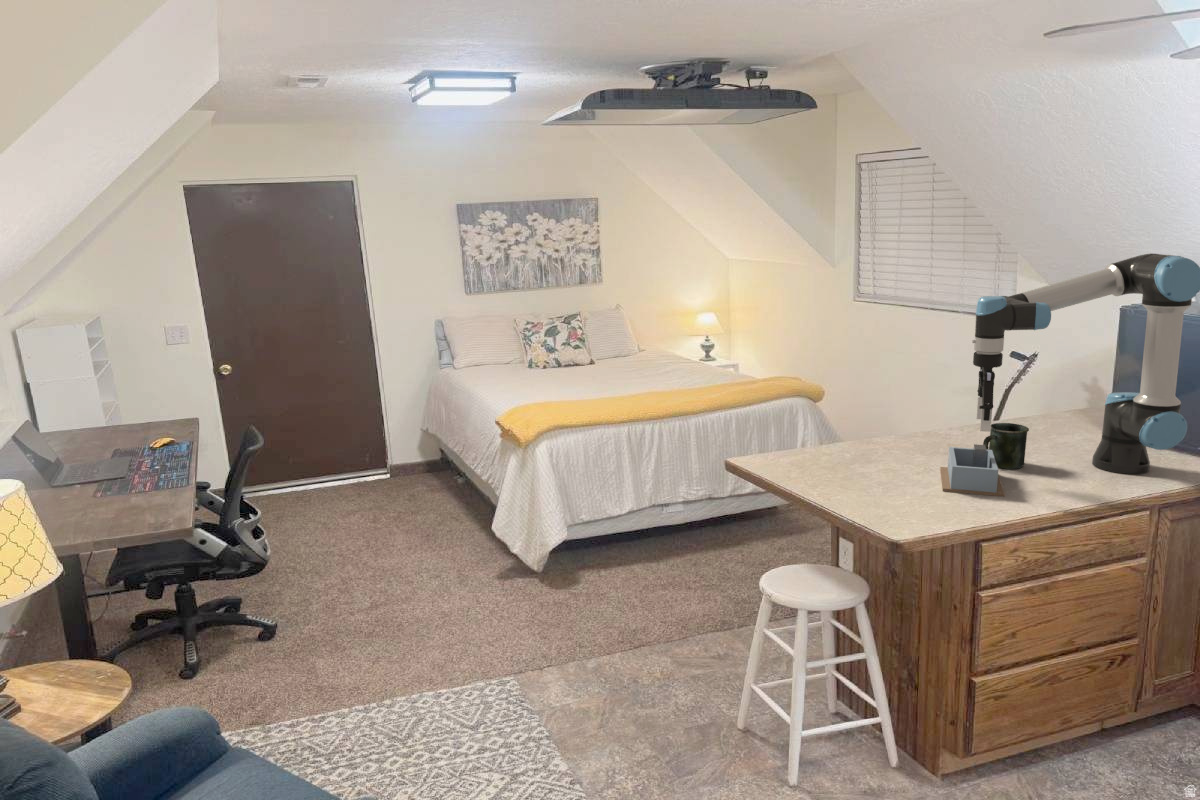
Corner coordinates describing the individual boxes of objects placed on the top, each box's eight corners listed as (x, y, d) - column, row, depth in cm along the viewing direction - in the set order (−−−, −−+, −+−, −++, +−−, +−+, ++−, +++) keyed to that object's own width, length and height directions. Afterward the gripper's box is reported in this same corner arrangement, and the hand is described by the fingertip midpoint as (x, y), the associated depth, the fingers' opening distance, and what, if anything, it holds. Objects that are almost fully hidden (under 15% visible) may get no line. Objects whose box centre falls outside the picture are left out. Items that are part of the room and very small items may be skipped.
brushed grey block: (982, 477, 261) (985, 445, 259) (983, 483, 257) (986, 449, 255) (958, 476, 263) (961, 443, 261) (959, 481, 259) (962, 448, 257)
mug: (1033, 467, 273) (1037, 429, 270) (995, 473, 268) (999, 434, 265) (1006, 457, 283) (1010, 421, 280) (969, 463, 278) (972, 426, 275)
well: (997, 473, 267) (999, 450, 266) (1004, 496, 248) (1006, 471, 246) (940, 469, 272) (942, 446, 271) (942, 491, 253) (944, 466, 251)
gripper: (970, 344, 264) (966, 413, 268) (976, 359, 241) (972, 435, 245) (998, 344, 261) (993, 414, 266) (1007, 360, 238) (1001, 437, 243)
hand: (983, 425), depth 256 cm, fingers open, 13 cm apart
